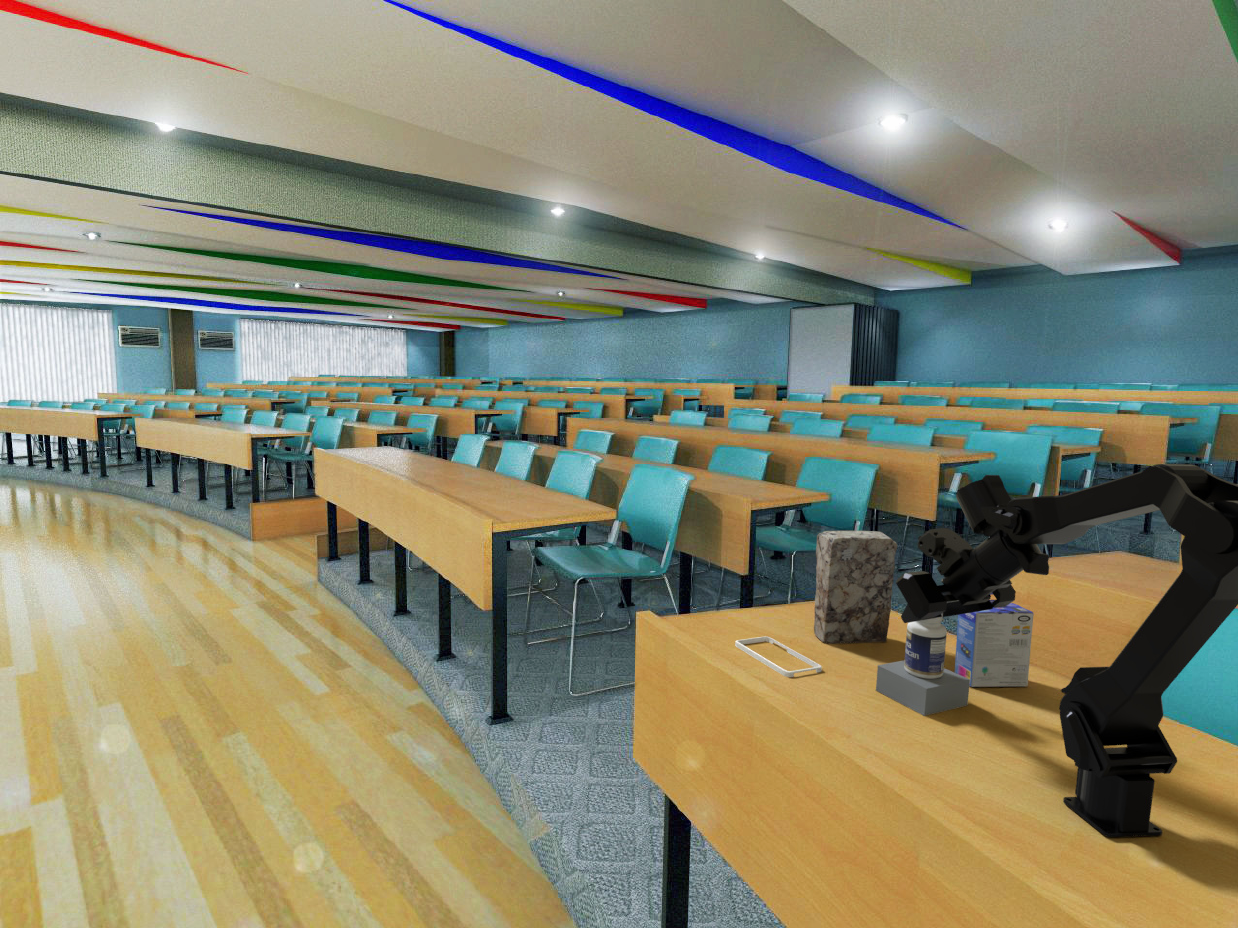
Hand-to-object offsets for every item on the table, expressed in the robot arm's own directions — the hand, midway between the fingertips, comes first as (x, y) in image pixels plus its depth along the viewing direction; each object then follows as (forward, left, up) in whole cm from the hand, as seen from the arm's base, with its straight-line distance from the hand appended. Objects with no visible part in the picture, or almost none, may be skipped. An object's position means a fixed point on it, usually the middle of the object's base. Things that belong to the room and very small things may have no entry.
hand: (919, 617), depth 105 cm
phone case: (+15, +17, -13) cm, 26 cm away
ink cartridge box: (+5, -15, -12) cm, 20 cm away
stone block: (+24, 0, -12) cm, 27 cm away
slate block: (-1, 0, -12) cm, 12 cm away
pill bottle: (-1, 0, -8) cm, 8 cm away
